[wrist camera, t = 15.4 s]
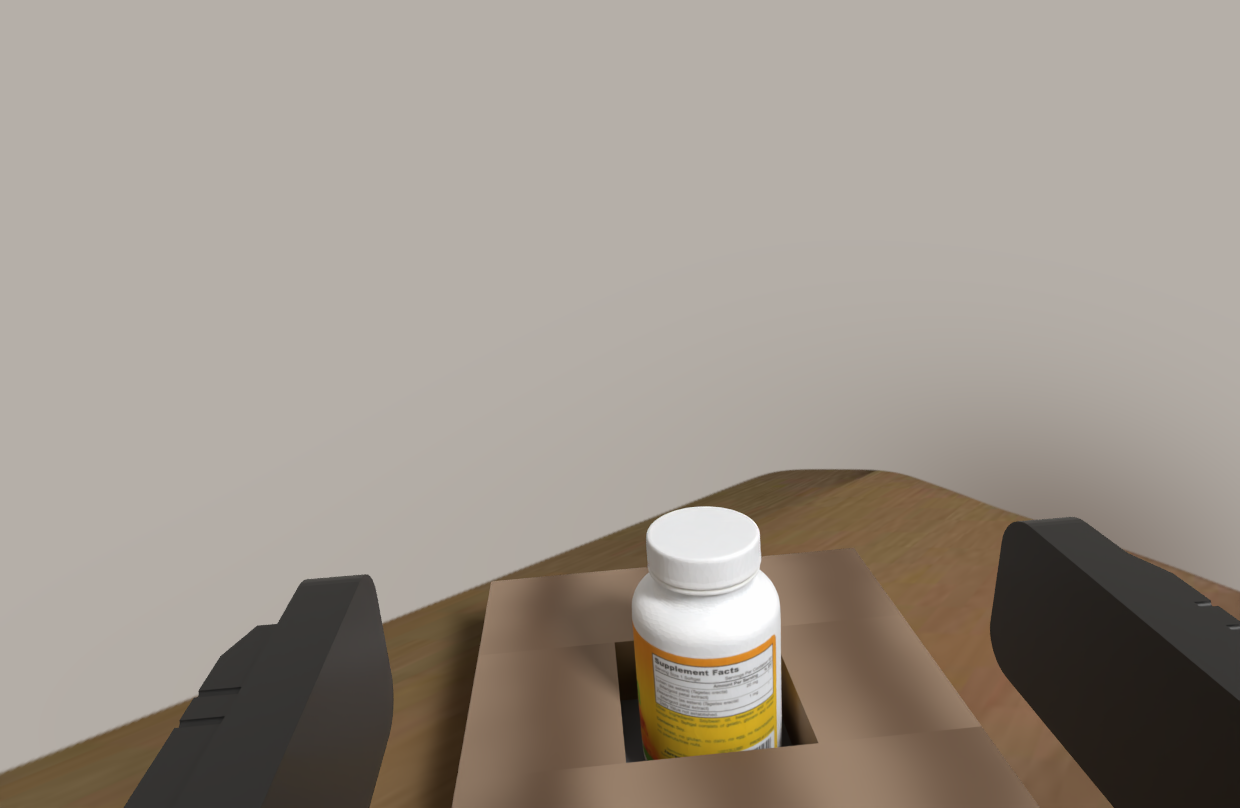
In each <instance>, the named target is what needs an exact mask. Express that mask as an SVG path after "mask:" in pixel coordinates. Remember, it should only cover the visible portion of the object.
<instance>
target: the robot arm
mask: <svg viewBox="0 0 1240 808" xmlns="http://www.w3.org/2000/svg"><path fill="white" fill-rule="evenodd" d="M990 636H991V643H992V647H993V651H994V654H995V657H996V660H997V662H998V664H999V666H1000V668H1001V670H1002V672H1003V673H1004V674H1005V676H1006V677H1007V678H1008V680H1009V681H1010V682H1011V683H1012V685H1013V686H1014V687H1015V688H1016V689H1017V691H1018V692H1019V693H1020V694H1021V695H1022V697H1023V698H1024V699H1025V700H1026V701H1027V703H1028V704H1029V705H1030V706H1031V708H1032V709H1033V710H1034V711H1035V712H1036V714H1037V715H1038V716H1039V717H1040V718H1041V720H1042V721H1043V722H1044V723H1045V725H1046V726H1047V727H1048V728H1049V729H1050V731H1051V732H1052V733H1053V734H1054V735H1055V737H1056V738H1057V739H1058V740H1059V741H1060V743H1061V744H1062V745H1063V746H1064V748H1065V749H1066V750H1067V751H1068V752H1069V754H1070V755H1071V756H1072V757H1073V758H1074V760H1075V761H1076V762H1077V763H1078V764H1079V766H1080V767H1081V768H1082V769H1083V771H1084V772H1085V773H1086V774H1087V775H1088V777H1089V778H1090V779H1091V780H1092V781H1093V783H1094V784H1095V785H1096V786H1097V787H1098V789H1099V790H1100V791H1101V792H1102V794H1103V795H1104V796H1105V797H1106V798H1107V800H1108V801H1109V802H1110V803H1111V804H1112V806H1113V807H1114V808H1240V621H1239V620H1237V619H1236V618H1234V617H1233V616H1232V615H1230V614H1229V613H1227V612H1226V611H1225V610H1223V609H1222V608H1220V607H1219V606H1212V605H1211V600H1209V599H1208V598H1206V597H1205V596H1204V595H1202V594H1201V593H1199V592H1198V591H1197V590H1195V589H1194V588H1192V587H1191V586H1190V585H1188V584H1187V583H1185V582H1184V581H1183V580H1181V579H1180V578H1179V577H1177V576H1176V575H1174V574H1173V573H1171V572H1168V571H1166V570H1164V569H1162V568H1160V567H1157V566H1155V565H1153V564H1151V563H1148V562H1146V561H1144V560H1142V559H1139V558H1137V557H1135V556H1133V555H1131V554H1128V553H1127V552H1125V551H1124V550H1123V549H1121V548H1120V547H1118V546H1117V545H1116V544H1114V543H1113V542H1112V541H1110V540H1109V539H1108V538H1106V537H1105V536H1104V535H1102V534H1101V533H1099V532H1098V531H1097V530H1095V529H1094V528H1093V527H1091V526H1090V525H1089V524H1087V523H1086V522H1084V521H1083V520H1081V519H1078V518H1075V517H1066V518H1053V519H1042V520H1030V521H1018V522H1013V523H1012V524H1010V525H1009V526H1008V527H1007V529H1006V530H1005V532H1004V535H1003V539H1002V545H1001V552H1000V559H999V566H998V573H997V580H996V587H995V594H994V601H993V608H992V615H991V623H990ZM392 717H393V682H392V675H391V669H390V664H389V658H388V653H387V648H386V642H385V637H384V631H383V626H382V621H381V615H380V610H379V604H378V599H377V594H376V589H375V586H374V583H373V580H372V579H371V577H370V576H369V575H353V576H342V577H330V578H318V579H307V580H304V581H303V582H301V584H300V585H299V587H298V588H297V590H296V592H295V594H294V595H293V597H292V599H291V601H290V602H289V604H288V606H287V608H286V610H285V612H284V613H283V615H282V617H281V618H280V620H279V622H278V624H272V625H261V626H256V627H255V628H254V629H253V630H252V631H250V632H249V633H248V634H247V635H246V636H245V637H243V638H242V639H241V640H240V641H238V642H237V643H236V644H235V645H234V646H232V647H231V648H230V649H229V650H228V651H226V652H225V653H224V654H223V655H222V656H220V658H219V660H218V661H217V663H216V664H215V666H214V667H213V669H212V670H211V672H210V674H209V675H208V677H207V678H206V680H205V681H204V683H203V685H202V686H201V688H200V689H199V696H198V697H197V698H194V699H193V700H192V702H191V703H190V705H189V706H188V708H187V710H186V711H185V713H184V714H183V716H182V717H181V719H180V726H179V728H174V730H173V731H172V733H171V735H170V736H169V738H168V739H167V741H166V742H165V744H164V745H163V747H162V749H161V750H160V752H159V753H158V755H157V756H156V758H155V760H154V761H153V763H152V764H151V766H150V767H149V769H148V770H147V772H146V774H145V775H144V777H143V778H142V780H141V781H140V783H139V784H138V786H137V788H136V789H135V791H134V792H133V794H132V795H131V797H130V799H129V800H128V802H127V803H126V805H125V806H124V808H369V806H370V803H371V799H372V796H373V792H374V788H375V785H376V781H377V778H378V774H379V770H380V767H381V763H382V759H383V756H384V752H385V749H386V745H387V741H388V738H389V734H390V730H391V724H392Z"/></svg>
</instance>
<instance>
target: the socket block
mask: <svg viewBox="0 0 1240 808" xmlns="http://www.w3.org/2000/svg"><path fill="white" fill-rule="evenodd" d="M759 570H761V571H762V572H763V573H764V574H765V575H766V576H767V577H768V578H769V579H770V580H771V582H772V583H773V585H774V587H775V589H776V591H777V593H778V596H779V601H780V613H781V699H782V747H777V748H767V749H757V750H748V751H738V752H728V753H718V754H709V755H699V756H689V757H680V758H670V759H660V760H651V761H646V760H645V757H644V752H643V744H642V735H641V724H640V711H639V699H638V687H637V674H636V661H635V649H634V636H633V623H632V599H633V595H634V592H635V589H636V587H637V586H638V584H639V582H640V581H641V580H642V579H643V578H644V576H645V575H646V574H648V573H649V571H648V567H643V568H632V569H621V570H610V571H600V572H589V573H578V574H567V575H556V576H546V577H535V578H524V579H513V580H502V581H492V582H491V587H490V592H489V598H488V604H487V609H486V615H485V621H484V626H483V632H482V638H481V644H480V649H479V655H478V661H477V666H476V672H475V678H474V684H473V689H472V695H471V701H470V706H469V712H468V718H467V723H466V729H465V735H464V741H463V746H462V752H461V758H460V763H459V769H458V775H457V781H456V786H455V792H454V798H453V803H452V808H1040V807H1039V806H1038V804H1037V803H1036V802H1035V800H1034V799H1033V797H1032V796H1031V795H1030V793H1029V792H1028V790H1027V789H1026V788H1025V786H1024V785H1023V783H1022V782H1021V781H1020V779H1019V778H1018V776H1017V775H1016V774H1015V772H1014V771H1013V769H1012V768H1011V767H1010V765H1009V764H1008V762H1007V761H1006V760H1005V758H1004V757H1003V755H1002V754H1001V753H1000V751H999V750H998V748H997V747H996V746H995V744H994V743H993V741H992V740H991V739H990V737H989V736H988V735H987V733H986V732H985V730H984V729H983V728H982V726H981V725H980V723H979V722H978V721H977V719H976V718H975V716H974V715H973V714H972V712H971V711H970V709H969V708H968V707H967V705H966V704H965V702H964V701H963V700H962V698H961V697H960V695H959V694H958V693H957V691H956V690H955V688H954V687H953V686H952V684H951V683H950V681H949V680H948V679H947V677H946V676H945V674H944V673H943V672H942V670H941V669H940V667H939V666H938V665H937V663H936V662H935V661H934V659H933V658H932V656H931V655H930V654H929V652H928V651H927V649H926V648H925V647H924V645H923V644H922V642H921V641H920V640H919V638H918V637H917V635H916V634H915V633H914V631H913V630H912V628H911V627H910V626H909V624H908V623H907V621H906V620H905V619H904V617H903V616H902V614H901V613H900V612H899V610H898V609H897V607H896V606H895V605H894V603H893V602H892V600H891V599H890V598H889V596H888V595H887V593H886V592H885V591H884V589H883V588H882V587H881V585H880V584H879V582H878V581H877V580H876V578H875V577H874V575H873V574H872V573H871V571H870V570H869V568H868V567H867V566H866V564H865V563H864V561H863V560H862V559H861V557H860V556H859V554H858V553H857V552H856V550H855V549H854V548H848V549H837V550H827V551H816V552H805V553H794V554H783V555H773V556H762V557H761V563H760V569H759Z"/></svg>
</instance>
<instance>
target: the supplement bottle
mask: <svg viewBox="0 0 1240 808" xmlns="http://www.w3.org/2000/svg"><path fill="white" fill-rule="evenodd" d="M646 545H647V560H648V571H649V573H648V574H646V575H645V576H644V578H643V579H642V580H641V581H640V582H639V584H638V586H637V587H636V589H635V592H634V595H633V599H632V623H633V636H634V649H635V661H636V674H637V687H638V699H639V711H640V724H641V735H642V744H643V752H644V757H645V760H646V761H651V760H660V759H670V758H680V757H689V756H699V755H709V754H718V753H728V752H738V751H748V750H757V749H767V748H777V747H782V699H781V613H780V601H779V596H778V593H777V591H776V589H775V587H774V585H773V583H772V582H771V580H770V579H769V578H768V577H767V576H766V575H765V574H764V573H763V572H762V571H761V570H759V569H760V563H761V551H760V533H759V529H758V527H757V525H756V524H755V522H754V521H753V520H752V519H750V518H749V517H748V516H746V515H744V514H742V513H739V512H737V511H734V510H730V509H726V508H720V507H691V508H684V509H680V510H676V511H673V512H670V513H668V514H666V515H663V516H662V517H660V518H658V519H657V520H655V521H654V522H653V523H652V524H651V525H650V527H649V529H648V531H647V535H646Z"/></svg>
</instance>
